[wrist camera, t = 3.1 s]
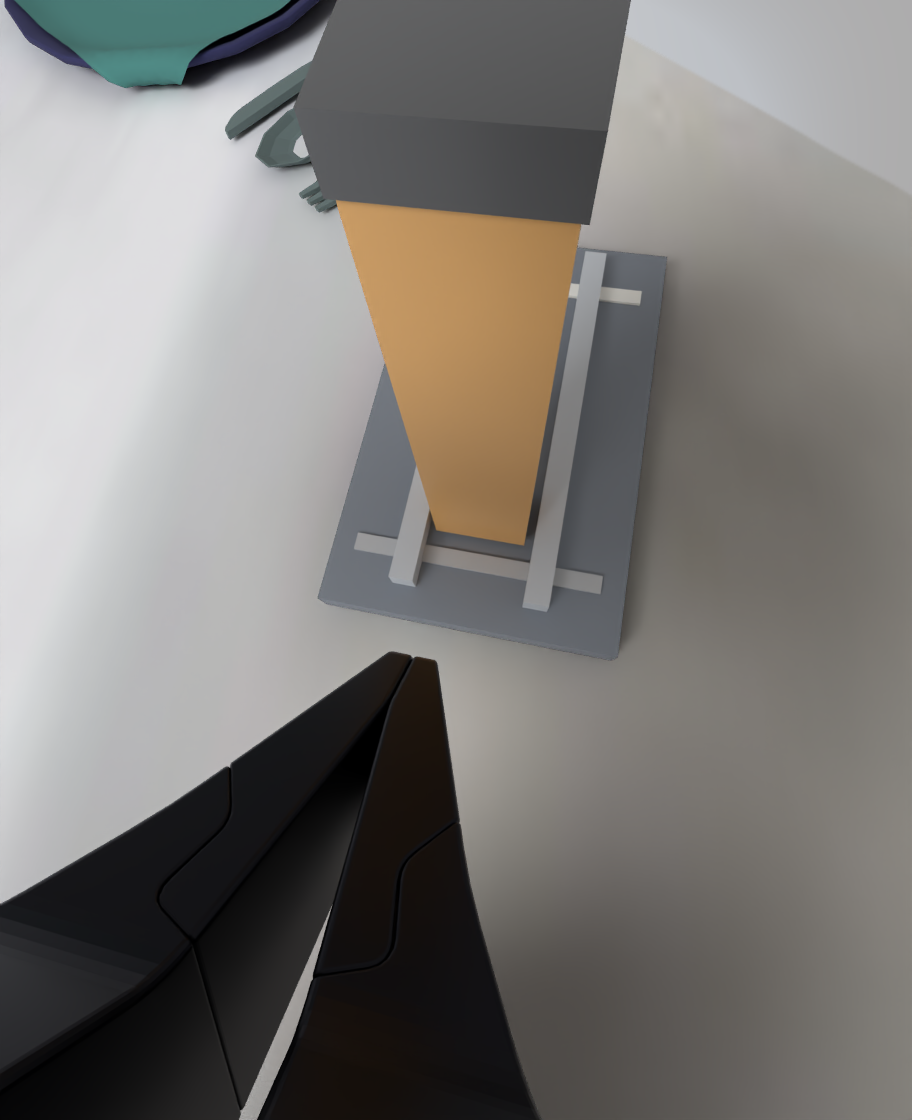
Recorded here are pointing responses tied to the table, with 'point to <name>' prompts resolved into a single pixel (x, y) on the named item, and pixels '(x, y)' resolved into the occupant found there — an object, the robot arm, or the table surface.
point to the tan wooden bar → (466, 217)
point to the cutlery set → (174, 51)
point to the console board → (558, 501)
